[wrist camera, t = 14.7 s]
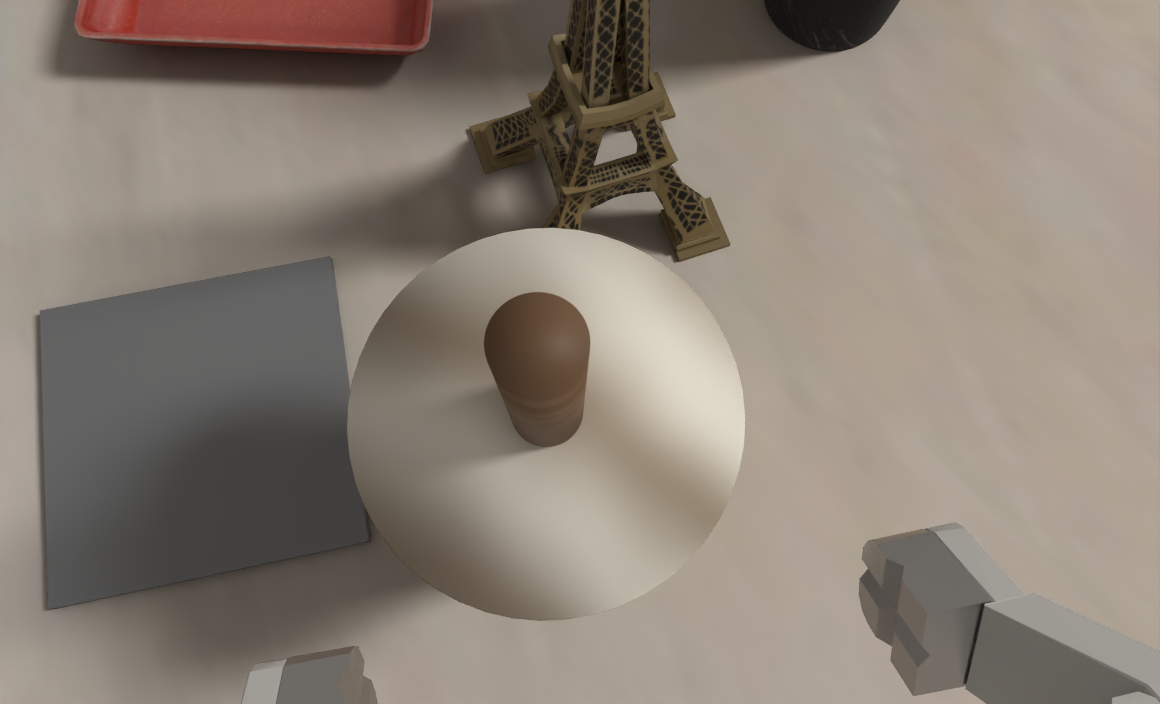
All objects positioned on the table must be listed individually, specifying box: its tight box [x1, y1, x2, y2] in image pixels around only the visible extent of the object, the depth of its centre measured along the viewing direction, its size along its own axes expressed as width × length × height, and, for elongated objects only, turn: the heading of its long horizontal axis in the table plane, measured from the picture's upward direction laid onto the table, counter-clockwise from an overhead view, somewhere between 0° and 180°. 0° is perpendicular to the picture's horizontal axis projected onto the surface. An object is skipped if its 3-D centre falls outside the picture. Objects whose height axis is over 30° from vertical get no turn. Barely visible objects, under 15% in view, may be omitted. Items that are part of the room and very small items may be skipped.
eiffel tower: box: [470, 0, 730, 262], centre depth 27 cm, size 11×11×25 cm
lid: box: [347, 228, 745, 621], centre depth 20 cm, size 12×12×8 cm
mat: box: [40, 256, 370, 610], centre depth 35 cm, size 14×14×1 cm
